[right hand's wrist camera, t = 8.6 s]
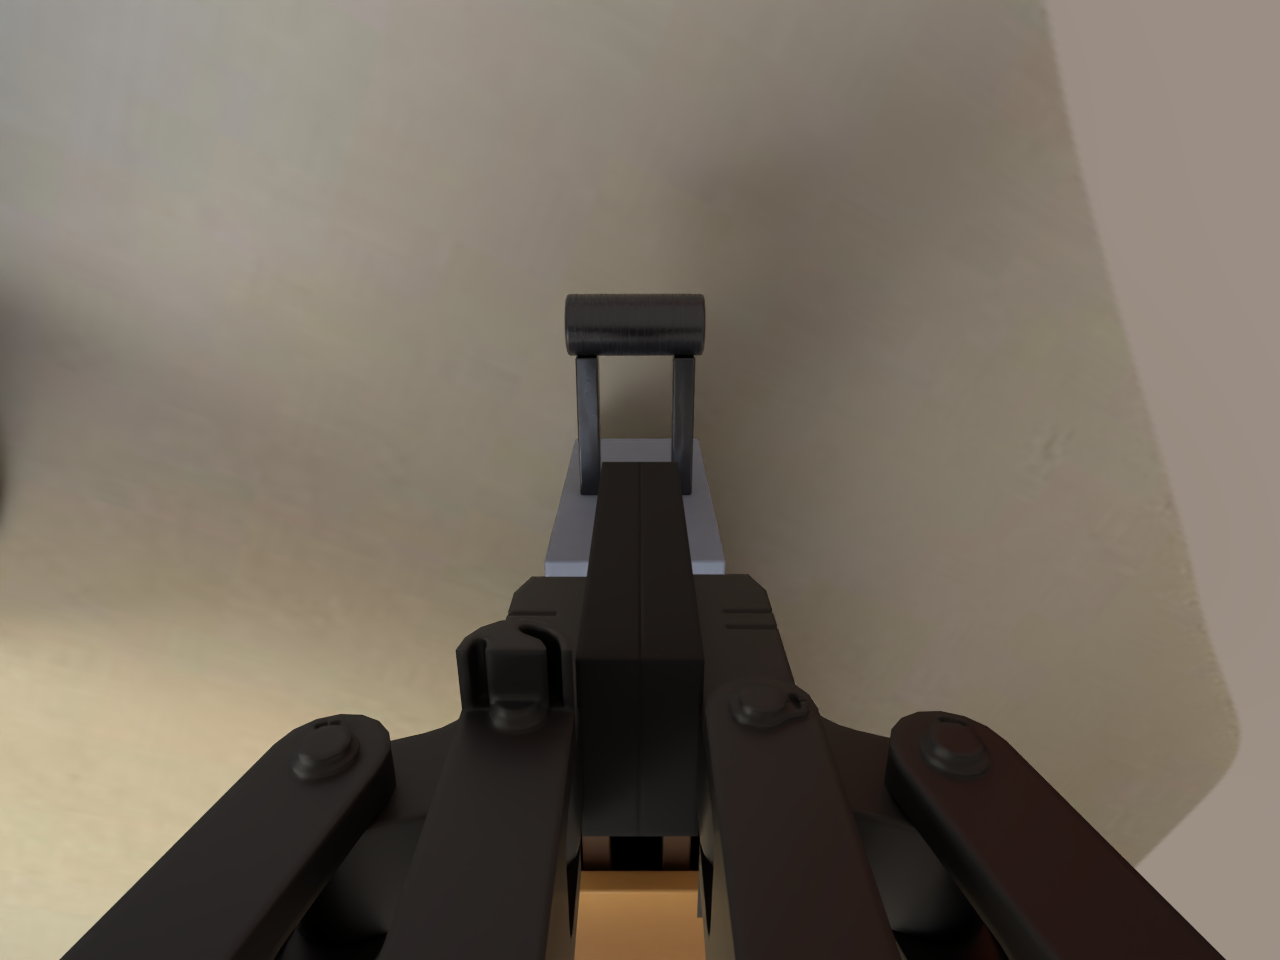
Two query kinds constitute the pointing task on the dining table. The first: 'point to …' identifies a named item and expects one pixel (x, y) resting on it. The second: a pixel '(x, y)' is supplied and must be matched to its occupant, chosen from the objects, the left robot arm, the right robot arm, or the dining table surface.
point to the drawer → (633, 332)
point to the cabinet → (640, 914)
